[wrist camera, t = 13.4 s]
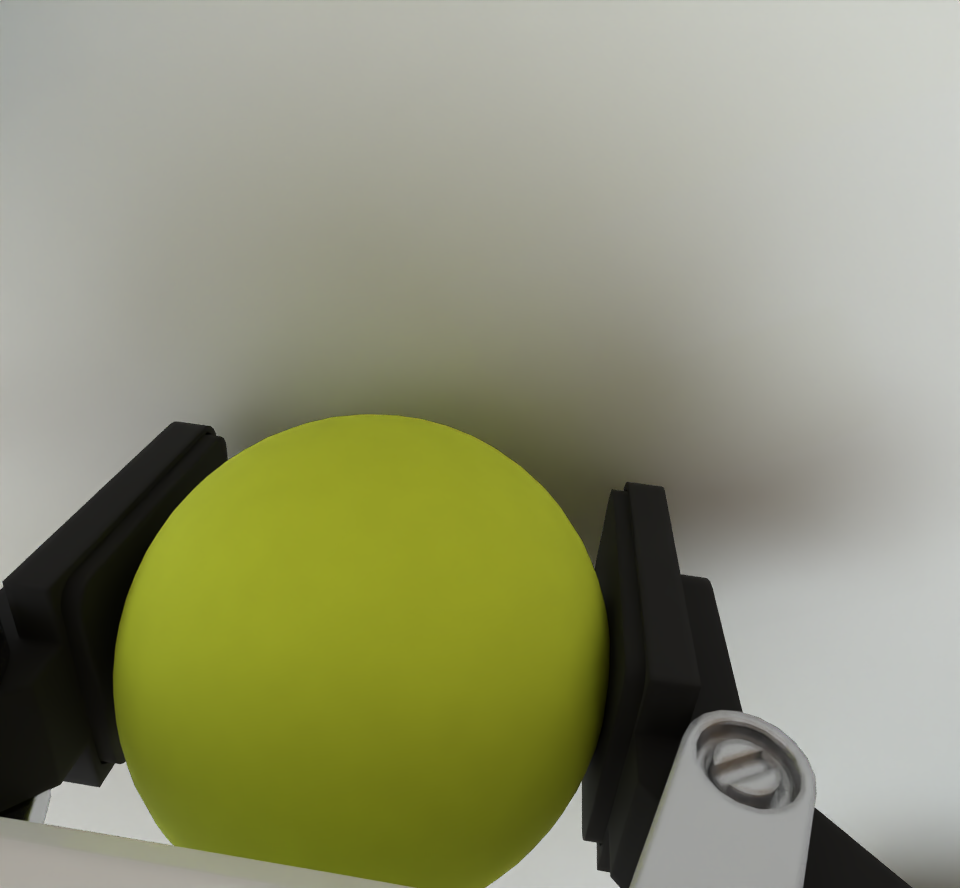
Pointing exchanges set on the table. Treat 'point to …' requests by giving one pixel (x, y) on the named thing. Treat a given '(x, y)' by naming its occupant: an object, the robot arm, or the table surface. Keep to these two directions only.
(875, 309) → the table surface
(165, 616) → the ball
